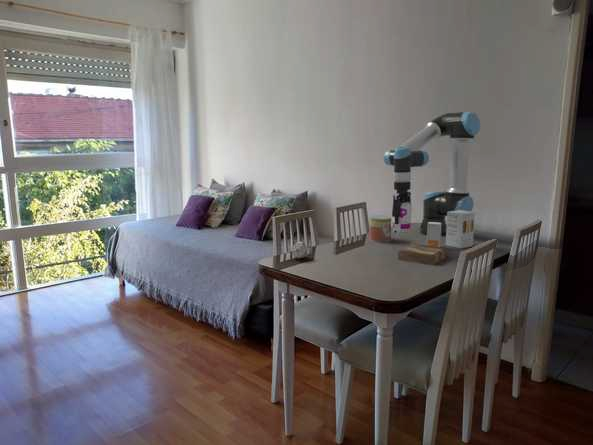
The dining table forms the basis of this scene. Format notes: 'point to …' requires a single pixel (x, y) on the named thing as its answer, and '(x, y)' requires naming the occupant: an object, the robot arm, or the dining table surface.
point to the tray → (422, 254)
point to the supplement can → (404, 219)
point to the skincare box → (434, 234)
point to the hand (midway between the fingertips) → (401, 228)
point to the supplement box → (460, 228)
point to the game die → (299, 250)
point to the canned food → (380, 228)
